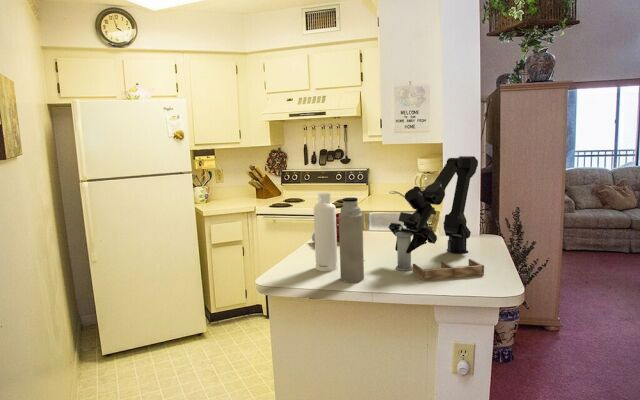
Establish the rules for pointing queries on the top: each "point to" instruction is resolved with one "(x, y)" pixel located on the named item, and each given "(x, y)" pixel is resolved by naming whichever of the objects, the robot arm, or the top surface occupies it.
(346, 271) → the thermos bottle
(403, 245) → the cord reel
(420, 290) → the top surface
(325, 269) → the bottle
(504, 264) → the top surface
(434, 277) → the rack
